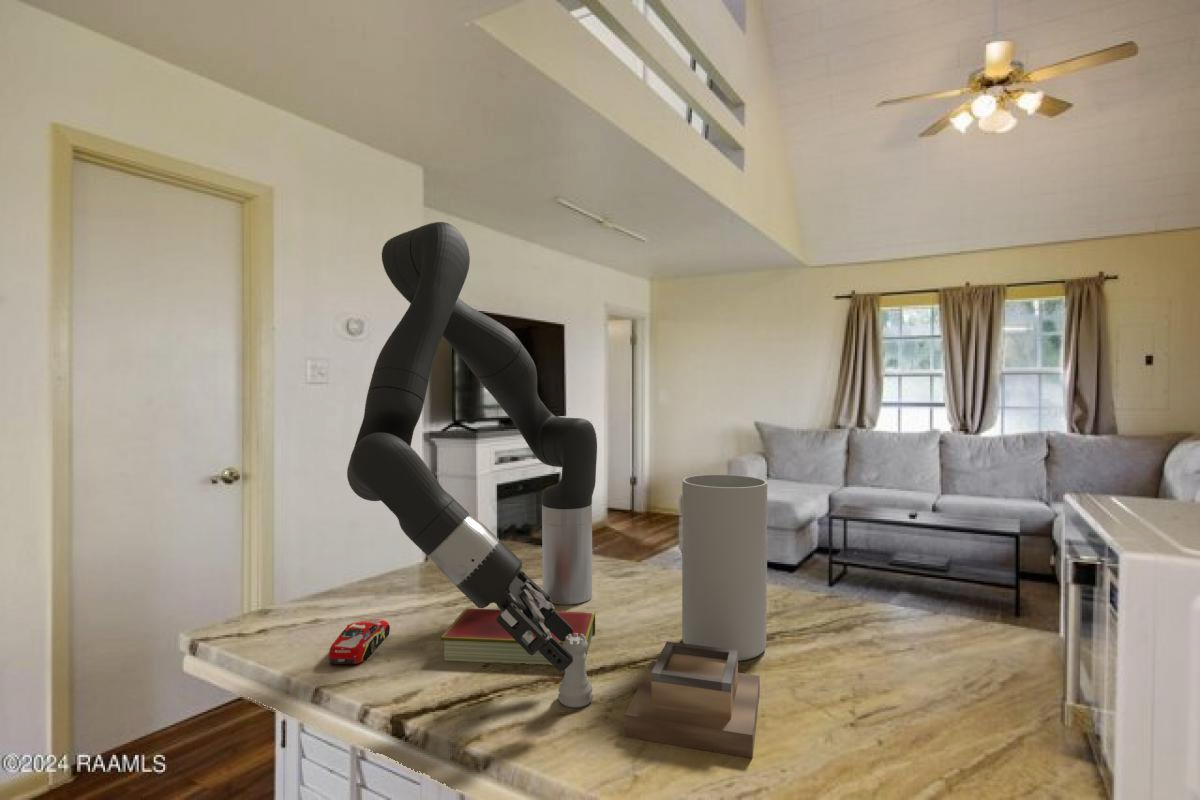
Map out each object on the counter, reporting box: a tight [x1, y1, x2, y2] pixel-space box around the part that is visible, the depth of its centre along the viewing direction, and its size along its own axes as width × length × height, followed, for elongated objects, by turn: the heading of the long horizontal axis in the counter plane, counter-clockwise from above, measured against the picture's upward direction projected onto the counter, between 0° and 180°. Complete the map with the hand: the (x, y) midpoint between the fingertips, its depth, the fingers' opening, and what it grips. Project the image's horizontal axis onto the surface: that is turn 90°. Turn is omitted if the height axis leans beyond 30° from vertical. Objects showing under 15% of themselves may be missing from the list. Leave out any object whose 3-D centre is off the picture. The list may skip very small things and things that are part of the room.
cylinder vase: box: [681, 474, 768, 662], centre depth 94 cm, size 12×12×25 cm
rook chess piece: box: [557, 633, 594, 709], centre depth 78 cm, size 4×4×8 cm
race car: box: [328, 618, 391, 665], centre depth 94 cm, size 13×5×4 cm, turn 177°
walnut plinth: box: [624, 640, 761, 759], centre depth 75 cm, size 14×14×6 cm
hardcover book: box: [439, 608, 596, 665], centre depth 94 cm, size 12×21×4 cm, turn 84°
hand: (568, 649), depth 78 cm, fingers open, 8 cm apart
